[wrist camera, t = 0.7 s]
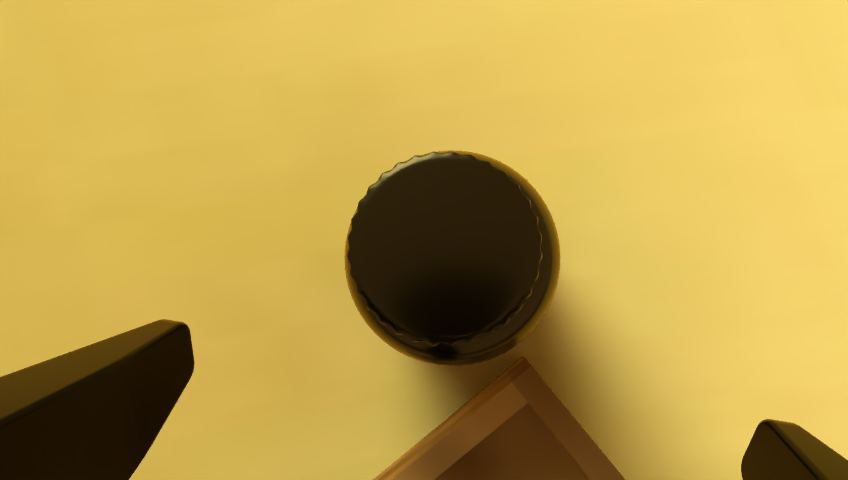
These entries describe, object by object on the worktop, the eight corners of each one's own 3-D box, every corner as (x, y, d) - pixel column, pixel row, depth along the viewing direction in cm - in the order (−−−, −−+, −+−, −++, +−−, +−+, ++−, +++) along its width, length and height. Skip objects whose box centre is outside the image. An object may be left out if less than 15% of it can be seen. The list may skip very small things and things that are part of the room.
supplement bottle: (365, 234, 24) (261, 176, 13) (492, 174, 24) (509, 55, 12) (424, 365, 23) (372, 437, 12) (557, 304, 23) (643, 313, 11)
